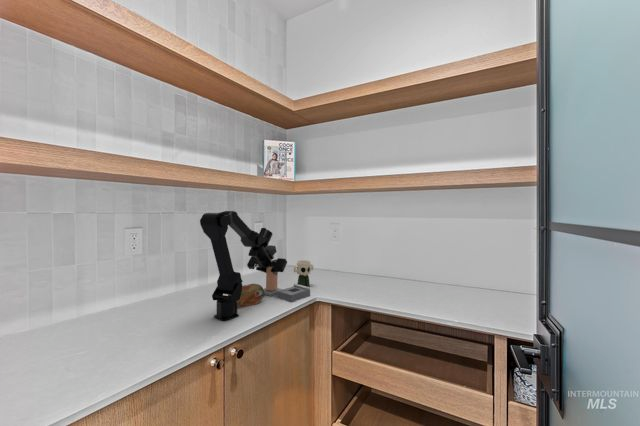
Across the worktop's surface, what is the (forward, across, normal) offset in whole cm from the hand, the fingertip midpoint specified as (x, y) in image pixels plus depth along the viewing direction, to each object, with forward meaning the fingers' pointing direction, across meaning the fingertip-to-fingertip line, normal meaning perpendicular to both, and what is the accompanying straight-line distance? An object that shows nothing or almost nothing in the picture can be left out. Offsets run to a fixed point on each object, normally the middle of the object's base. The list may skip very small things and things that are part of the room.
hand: (273, 273), depth 133 cm
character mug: (+16, -10, -3) cm, 19 cm away
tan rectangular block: (+4, 0, +6) cm, 7 cm away
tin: (-9, 0, +21) cm, 23 cm away
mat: (+5, 0, +7) cm, 9 cm away
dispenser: (+4, -13, +8) cm, 16 cm away
